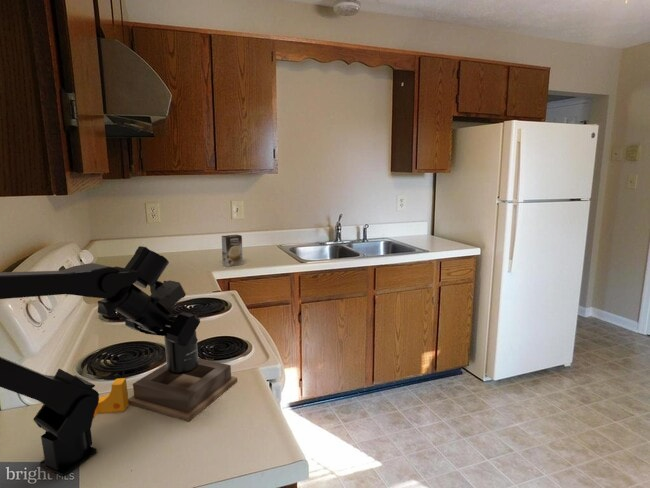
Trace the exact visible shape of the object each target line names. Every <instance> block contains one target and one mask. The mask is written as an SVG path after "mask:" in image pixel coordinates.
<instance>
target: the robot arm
mask: <svg viewBox="0 0 650 488" xmlns="http://www.w3.org/2000/svg"><path fill="white" fill-rule="evenodd" d="M169 263H170V262H169V260H168V259H167V258H166V257H165V256H164V255H161V254H159V253H157V252H156V251H154V250H152V249H151V250H150V249H149V248H148V247H147V246H142V245H141V246H140V245H139V246H138V248H137V249H136V250H135V251H134V254H133V256H132V257H131V259H130V260H129V261H128V263H127V264H126V265H125V267H121V266H117V265H116V266H110V265H105V264H100V263H95V262H89V263H84V264H78V265H73V266H70V267H68V268H65V269H60V270H44V271H43V270H42V271H41V270H39V271H4V272H3V271H0V300H7V299H8V300H9V299H20V298H33V297H45V296H61V295H69V296H70V295H71V296H79V297H86V298H97V299H101V300H98V301H97V305H98V306H97V313H98V314H100V315H101V316H106V317H107V318H110V317H111V316H112V315H113V314H114V312H115V311H116V312H117V313H119V314H120V315H122V316H123V317H125V318H124V323H125V327H128V328H129V329H131V330H134V331H136V332H139V333H140V332H141V333H143V334H146V335H152V336H161V337H164V335H165V333H166V332H167V331H168V332H167V339H168V340H169V341H170V342H172V343H175V344H178V345H181V346H186V345H187V344H196V342H197V343H198V339H199V338H198V337H196V336H197V335H196V336H195V334H194V332H195V330H196V331H197V329H198V326H199V325H200V323H201V319H200V318H199V317H198V316H196V314H192V313H188V312H184V311H182V312H180V313H178V314H177V315H178V316H177V315H176V316H177V317H174V316H175V315H172V314H173V313H174V312H175V308H174V307H173V306H174V305H175V304H177V303H178V302H179V301H180V300H181V299H184V298H185V296H186V294H187V293H186V292H185V289H184V288H183V285H182V284H181V283H180V282H179V281H174V280H163V282H162V281H160V280H159V278H160V277H161V275H162V274H163V273H164V271H165V270H166V268H167V266H168V265H169ZM148 286H149V291H150V295H149V294H147V293H146V292H145V291H143V290H142V289H140V288H143V289H147V287H148ZM169 320H170V321H169ZM168 327H170V329H169V328H168ZM94 387H96V385H95V384H94V383H92V382H90V381H88V380H86V379H83V378H82V377H80V376H78V375H75V374H71V373H69V372H67V371H65V370H63V369H61V368H58V369H57V371H56V373H55V375H47V374H44V373H41V372H38V371H36V370H33V369H31V368H29V367H27V366H25V365H21V364H19V363H17V362H14V361H12V360H10V359H7V358H6V357H5V358H4V357H3V356H0V388H2V389H5V390H7V391H11V392H13V393H16V394H19V395H21V396H24V397H28V398H30V399H33V400H36V401H37V402H39V403H41V404H42V406H41V407H40V409H39V410H38V411H37V413H36V415H35V416H34V418H33V422H34V423H35V424H36V425H37V426H38V428H41V429H42V430H44V431H45V432H44V433H43V434H42V435H40V440H41V445H42V453H43V458H44V459H43V460H41V461H40V462H39V466H40V467H41V468H43V469H46V470H47V471H48V470H49V471H50V472H53V473H56V474H57V475H60V476H66V475H68V474H69V473H70V472H71V471H73V470H74V469H76V468H77V467H78V466H80V465H81V464H82V463H84V462H85V461H87V460H89V458H91V457H92V456H94V455H96V453H98V449H97V448H96V447H93V437H92V424H93V420H94V418H95V417H94V413H95V409H96V407H97V405H98V402H99V397H100V393H99V392H98V391H97V389H96V390H95V389H94ZM93 417H94V418H93Z"/></svg>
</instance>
